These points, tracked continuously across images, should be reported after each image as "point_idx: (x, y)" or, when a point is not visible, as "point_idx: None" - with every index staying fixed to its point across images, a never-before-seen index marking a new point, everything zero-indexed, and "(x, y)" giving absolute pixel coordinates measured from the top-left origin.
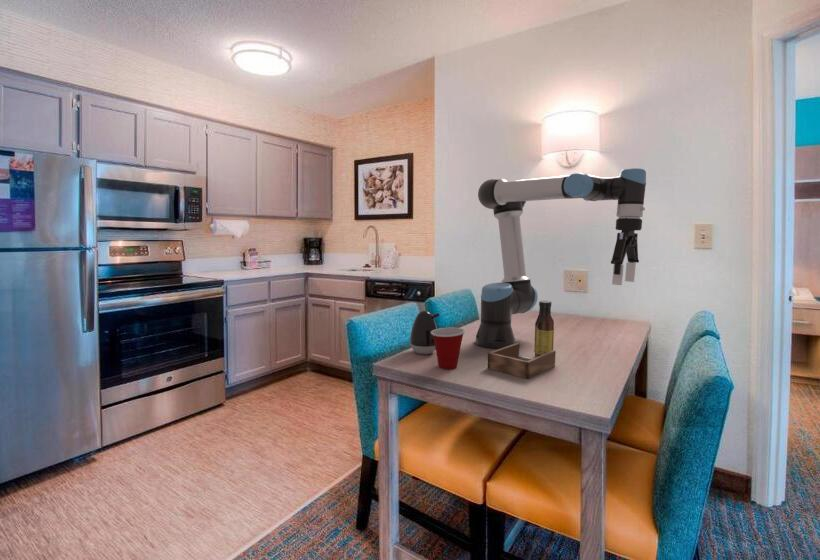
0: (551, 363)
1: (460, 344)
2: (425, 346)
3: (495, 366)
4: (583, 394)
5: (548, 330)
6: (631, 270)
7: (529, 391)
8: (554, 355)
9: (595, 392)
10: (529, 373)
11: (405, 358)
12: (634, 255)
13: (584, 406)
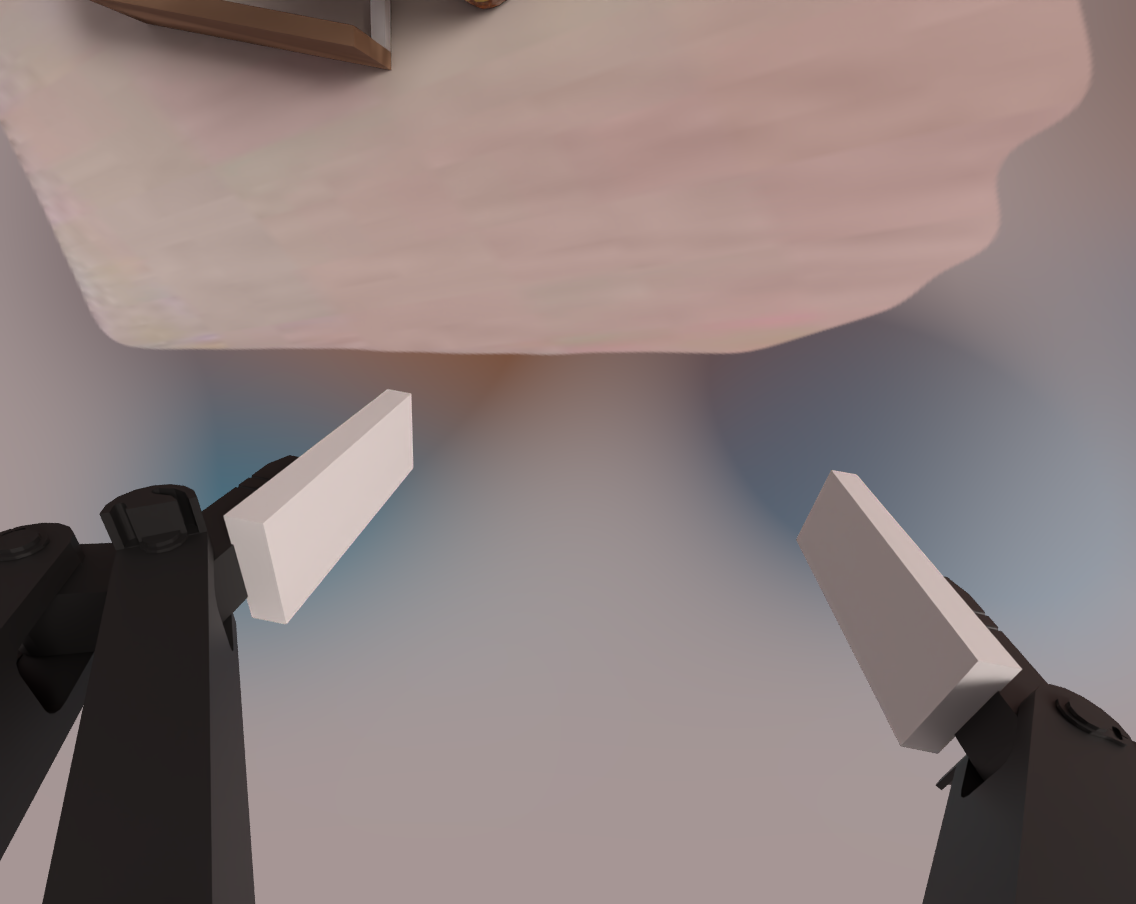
0: (344, 57)
1: None
2: None
3: None
4: (192, 265)
5: None
6: (863, 611)
7: (55, 90)
8: (355, 51)
9: (237, 294)
10: (138, 17)
11: None
12: (926, 897)
13: (117, 287)
